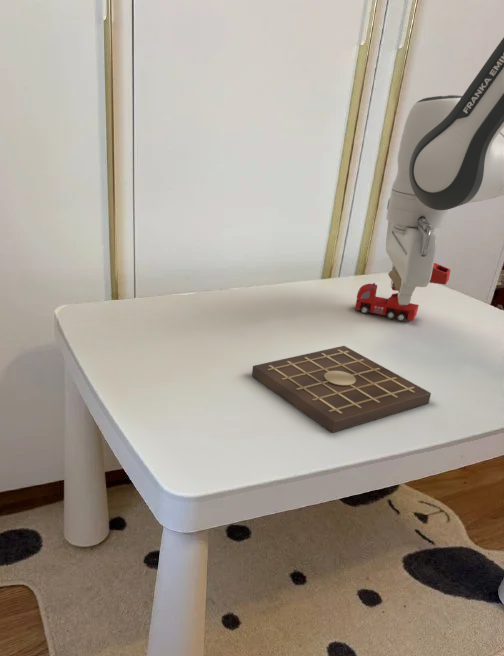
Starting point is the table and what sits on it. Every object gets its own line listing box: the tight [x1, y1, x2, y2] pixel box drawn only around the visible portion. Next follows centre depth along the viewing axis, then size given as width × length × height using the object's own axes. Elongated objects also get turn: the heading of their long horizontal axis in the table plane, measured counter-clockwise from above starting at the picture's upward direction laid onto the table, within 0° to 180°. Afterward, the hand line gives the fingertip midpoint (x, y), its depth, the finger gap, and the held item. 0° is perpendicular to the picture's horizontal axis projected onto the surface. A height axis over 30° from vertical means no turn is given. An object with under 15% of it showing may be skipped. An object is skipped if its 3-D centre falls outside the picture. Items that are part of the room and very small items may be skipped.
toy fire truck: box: [354, 262, 451, 322], centre depth 104 cm, size 3×14×10 cm, turn 63°
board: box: [251, 345, 432, 433], centre depth 81 cm, size 16×16×2 cm
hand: (399, 296), depth 104 cm, fingers open, 5 cm apart
